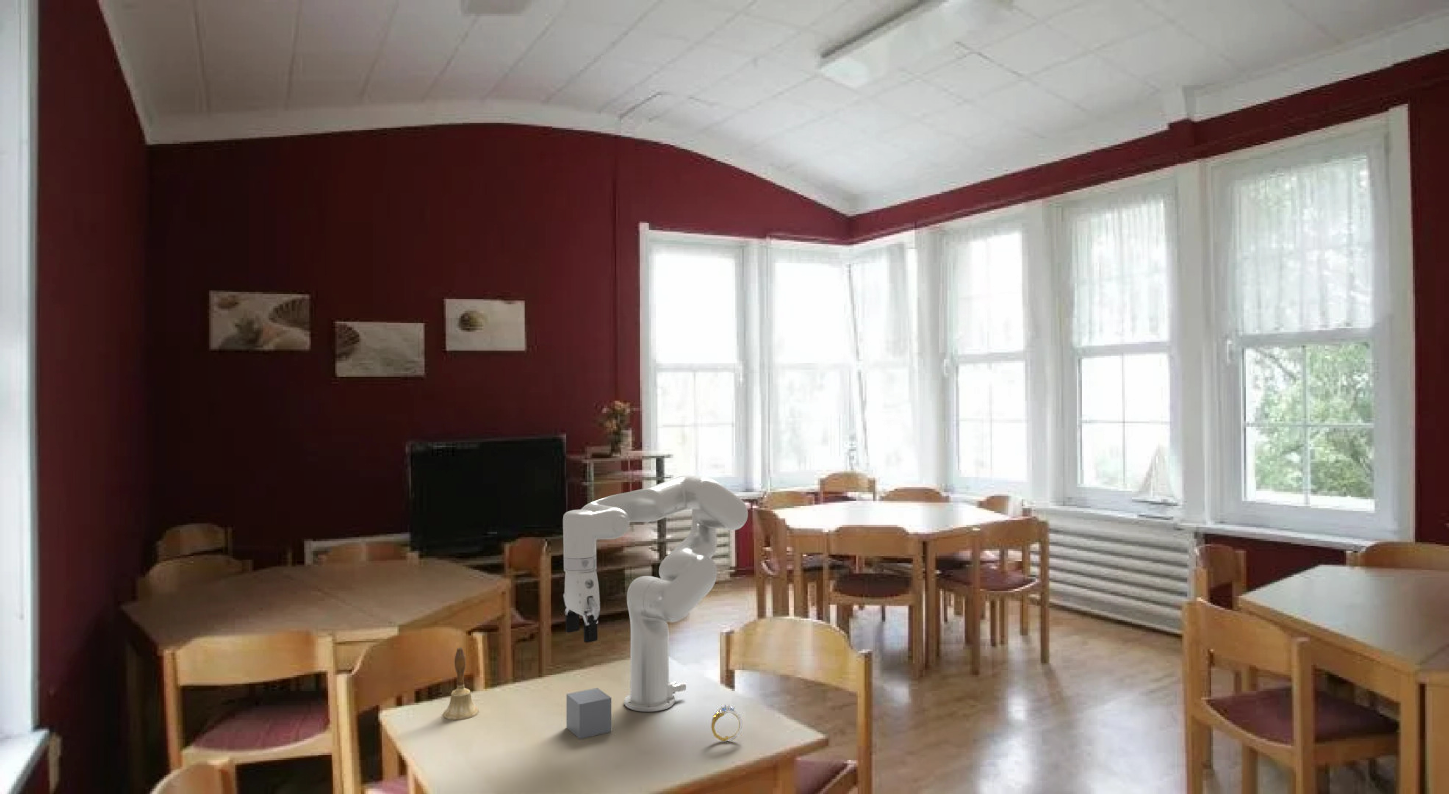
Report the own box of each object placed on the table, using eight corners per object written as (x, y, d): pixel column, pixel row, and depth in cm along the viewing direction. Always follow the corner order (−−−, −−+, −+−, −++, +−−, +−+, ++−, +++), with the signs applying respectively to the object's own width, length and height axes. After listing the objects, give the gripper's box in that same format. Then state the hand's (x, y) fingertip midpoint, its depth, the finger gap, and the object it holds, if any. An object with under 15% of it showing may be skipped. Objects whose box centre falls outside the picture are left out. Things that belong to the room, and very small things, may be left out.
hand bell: (468, 721, 203) (468, 654, 203) (436, 718, 205) (436, 652, 204) (484, 708, 211) (484, 644, 211) (453, 706, 213) (453, 642, 213)
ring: (742, 738, 193) (742, 703, 193) (742, 744, 190) (742, 708, 190) (711, 739, 193) (711, 703, 193) (711, 744, 190) (711, 708, 190)
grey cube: (597, 720, 203) (597, 687, 203) (611, 731, 197) (611, 697, 197) (566, 727, 199) (566, 694, 199) (579, 739, 193) (579, 704, 193)
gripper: (611, 567, 195) (612, 642, 195) (579, 555, 209) (580, 625, 210) (581, 572, 191) (582, 648, 191) (550, 559, 205) (551, 630, 205)
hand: (581, 636), depth 200 cm, fingers open, 9 cm apart
